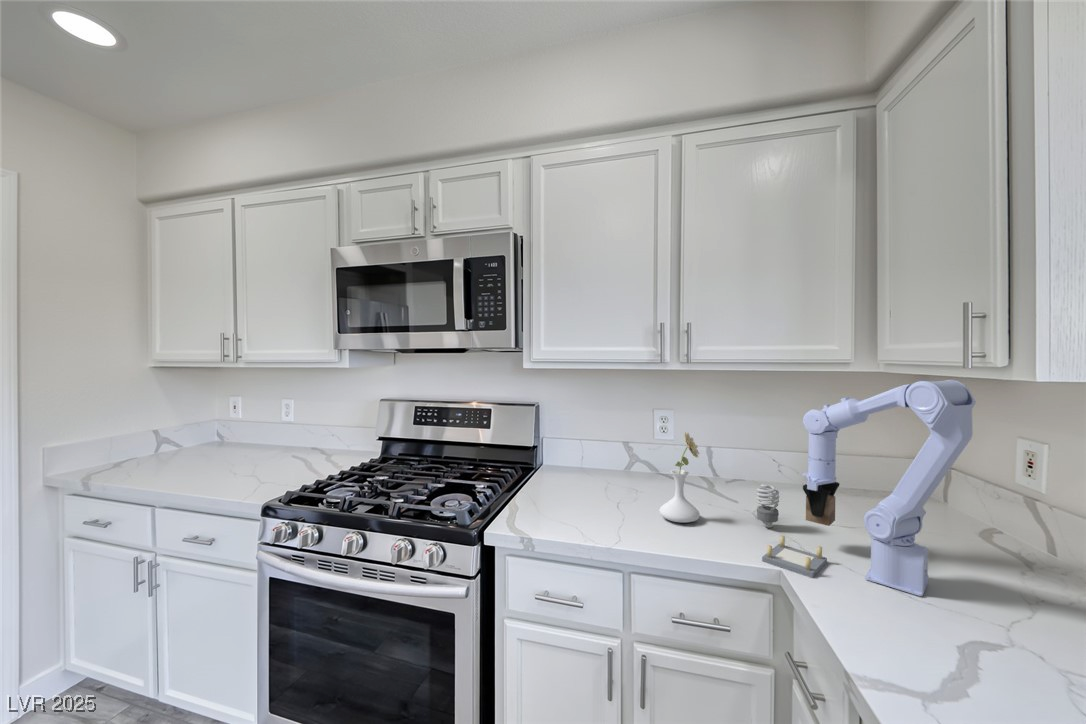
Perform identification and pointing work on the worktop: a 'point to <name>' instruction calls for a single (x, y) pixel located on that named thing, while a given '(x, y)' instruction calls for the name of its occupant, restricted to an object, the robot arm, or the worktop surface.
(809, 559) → the standoff board
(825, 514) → the walnut block
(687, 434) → the flower in vase
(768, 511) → the light bulb
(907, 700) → the worktop surface
